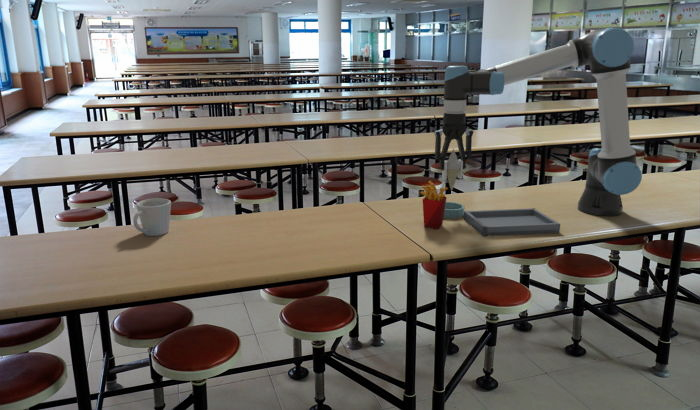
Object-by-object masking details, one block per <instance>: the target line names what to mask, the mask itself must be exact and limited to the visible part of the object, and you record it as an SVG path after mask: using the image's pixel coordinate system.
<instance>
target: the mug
mask: <svg viewBox="0 0 700 410" xmlns="http://www.w3.org/2000/svg"><path fill="white" fill-rule="evenodd" d="M135 206H136V209H137V212H136V213H135V214H134V215H133V220H132V222H133V226H134V228H135V229H136V230H137V231H138V232H140V233H143V234H144V235H145V236H149V237H156V236H157V237H158V236H163V235H165V234H167V233H169V231H170V221H171V210H172V209H171V207H172V201H171V200H170V199H167V198H158V197H156V198H147V199H142V200H140V201H138V202H136V204H135ZM138 218H139V220H140V223H141V227H140V225H139V224H138Z"/></svg>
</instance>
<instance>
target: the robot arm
mask: <svg viewBox="0 0 700 410" xmlns="http://www.w3.org/2000/svg"><path fill="white" fill-rule="evenodd" d="M634 50H635V43H634V40H633V37H632V35H631V34H630V33H629V32H628V31H626V30H625V29H624V28H623V29H622V28H619V27H606V28H598V29H594V30H593V31H590V32H588V33H586V34H583V35H581V36H579V37H576V38H573V39H570V40H569V41H568V42H567V44H564V45H561V46H557V47H554V48H550V49H547V50H543V51H540V52H537V53H534V54H529V55H527V56H523V57H521V58H516V59H513V60H511V61H506V62H504V63H500V64H497V65H494V66H490V67H488V68H484V69H481V68H480V69H479V70H476V71H469V68H468V66H467V65H449V66H447V67H446V68H445V71H444V72H445V73H444V88H443V89H444V90H443V91H444V93H443V95H444V97H443V111H444V113H443V120H442V123H443V124H442V126H441V129H438V130H434V136H435V141H434V142H435V143H434V144H435V147H434V158H435V160H438V161H439V169H440V170H441V179H442V180H444V181H446V180H447V179H448V176H447V161H448V160H446V158H447V155H448V151H449V147H450V145H451V142H452V140H453V141H454V140H455V141H456V143H457V148H458V152H459V156H460V157H459V158H457V160H459V162H460V167H459V168H460V169H459V171H458V174H457V179H459V180H463V171H464V170H466V161H467V160H468V159H471V158H472V141H473V139H472V138H473V134H474V130H473V129H468V128H467V127H466V120H467V119H466V117H467V113H465V112H466V111H467V96H468V95H469V96H470V95H471V96H472V95H480V96H481V95H482V96H483V95H487V96H488V95H489V96H495V95H502V94H503V92H504V89H505V86H506V85H511V84H514V83H517V82H521V81H525V80H528V79H531V78H535V77H538V76H542V75H545V74H549V73H552V72H555V71H559V70H563V69H566V68H569V67H574V68H575V69H576V68H579V67H583V66H590V75H591V76H592V77H594V78H595V80H596V91H597V92H596V93H597V103H598V104H597V106H598V115H599V117H598V118H599V127H600V129H599V130H600V142H601V148H597V147H596V148H592V149H591V150H589V155H588V161H587V162H588V163H587V171H586V180H585V186H584V189H583V191H582V194H581V196H580V197H579V200H578V202H577V209H578V210H579V211H580V212H584V213H586V214H588V215H589V214H590V215H593V216H594V215H595V216H596V215H597V216H605V217H606V216H607V217H608V216H610V217H614V216H615V217H616V216H618V215H621V214H622V213H623V207H624V206H623V201H622V197H621V196H623V195H628V194H630V193H633V192H634V191H635V190H636V189H638V187H639V186H640V185H641V182H642V179H643V178H642V177H643V175H642V171H641V169H640V166H639V165H638V164H637V152H636V150H634V149H633V148H632V147H631V138H630V125H629V123H630V121H629V107H628V106H629V105H628V92H627V91H628V90H627V77H626V74H627V73H628V72H629V71H630V70H631V57H632V56H633V53H634ZM464 134H465V146H464V143H463V142H464V141H463V139H464V138H463V136H464ZM443 135H444V142H443V146H442V136H443ZM441 147H442V149H441Z"/></svg>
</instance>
